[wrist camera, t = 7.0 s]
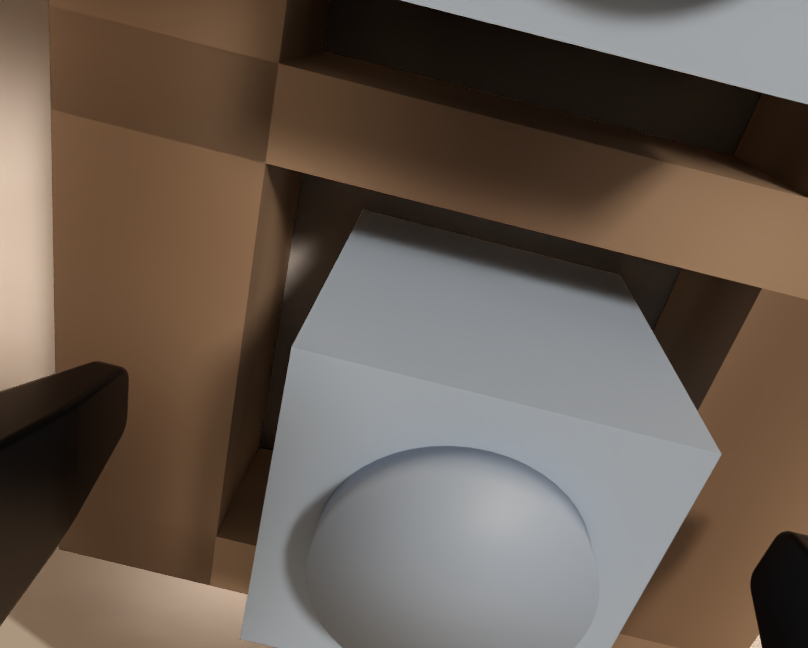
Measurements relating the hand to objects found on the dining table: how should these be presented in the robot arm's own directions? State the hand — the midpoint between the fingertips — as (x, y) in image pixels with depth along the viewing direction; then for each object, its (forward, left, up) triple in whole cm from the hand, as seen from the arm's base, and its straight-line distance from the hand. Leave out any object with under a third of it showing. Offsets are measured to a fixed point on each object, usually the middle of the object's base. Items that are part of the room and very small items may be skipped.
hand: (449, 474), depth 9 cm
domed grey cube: (0, 0, -4) cm, 4 cm away
